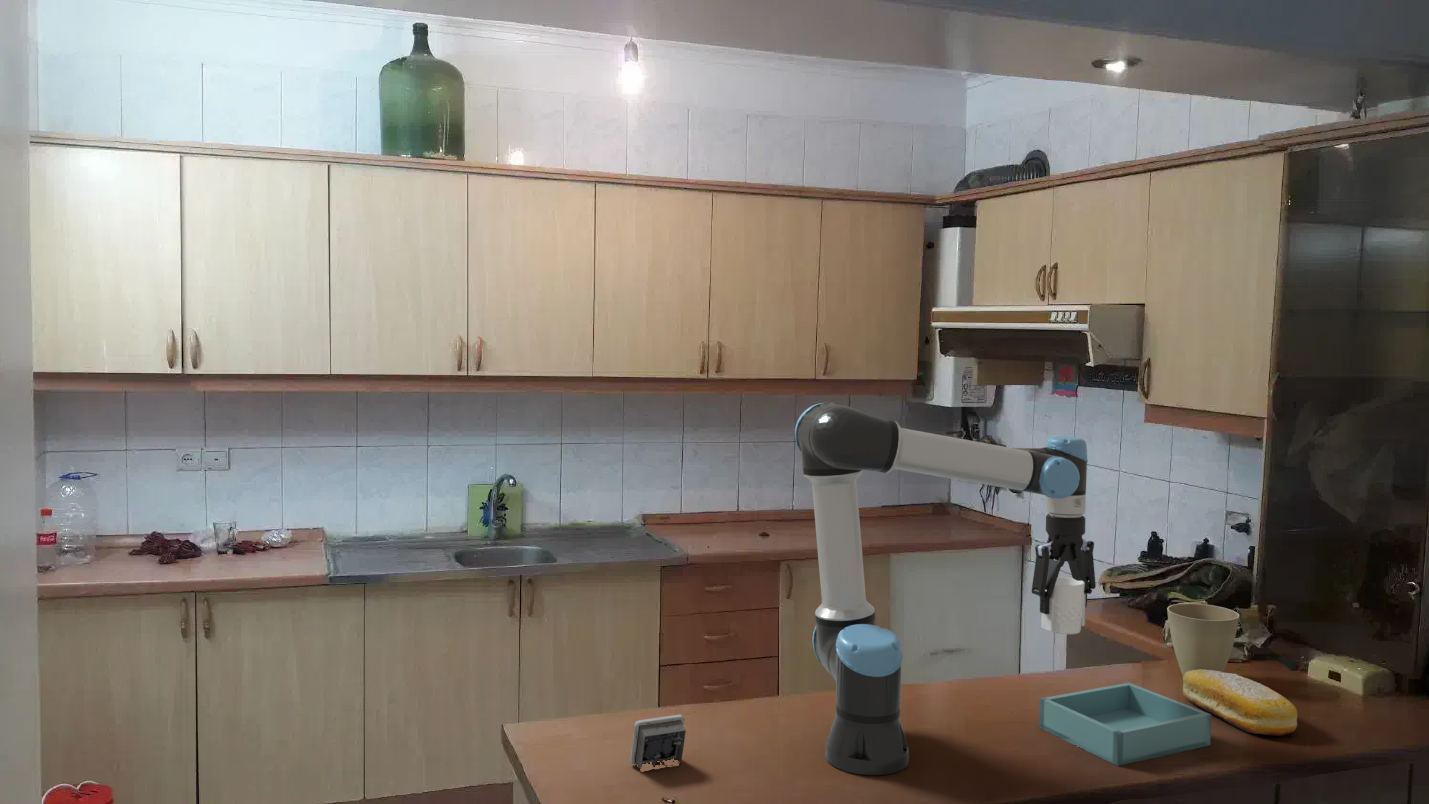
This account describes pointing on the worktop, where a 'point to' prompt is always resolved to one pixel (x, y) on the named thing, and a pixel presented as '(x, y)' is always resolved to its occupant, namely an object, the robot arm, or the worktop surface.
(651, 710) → the worktop surface
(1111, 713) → the walled box
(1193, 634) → the plant pot
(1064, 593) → the white cup
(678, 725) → the electrical switch
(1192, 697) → the bread
